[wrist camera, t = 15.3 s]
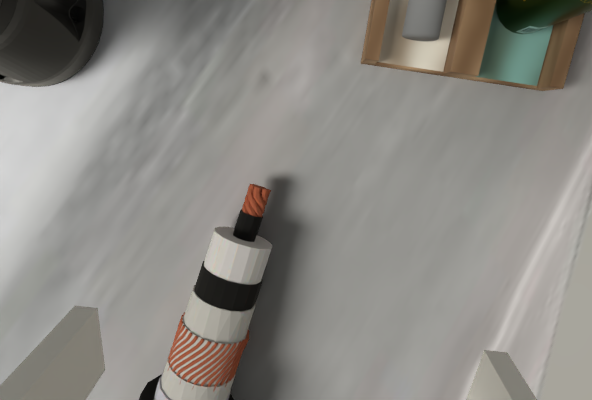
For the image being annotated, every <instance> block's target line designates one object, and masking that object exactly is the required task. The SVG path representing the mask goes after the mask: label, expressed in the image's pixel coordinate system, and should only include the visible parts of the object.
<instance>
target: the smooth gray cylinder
mask: <svg viewBox="0 0 592 400" xmlns="http://www.w3.org/2000/svg"><path fill="white" fill-rule="evenodd" d="M446 2H447V0H408V6H407V11H406V16H405V21H404V26H403V32H402V37H404V38H406V39H409V40H415V41H436V40H438V39H439V35H440V31H441V26H442V21H443V16H444V12H445V7H446Z"/></svg>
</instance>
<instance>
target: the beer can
mask: <svg viewBox="0 0 592 400" xmlns="http://www.w3.org/2000/svg"><path fill="white" fill-rule="evenodd" d="M591 10H592V0H496V15H497V18H498V21H499V22H500V23H501V24H502V26H503V27H504V28H506V29H508V30H509V31H511V32H513V33H517V34H528V33H533V32H536V31H538V30H541V29H544V28H546V27H549V26H552V25H554V24H557V23H559V22H562V21H565V20H567V19H570V18H573V17H575V16H578V15H581V14H583V13H586V12H589V11H591Z"/></svg>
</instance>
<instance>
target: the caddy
mask: <svg viewBox="0 0 592 400" xmlns="http://www.w3.org/2000/svg"><path fill="white" fill-rule="evenodd" d="M407 6H408V0H372V1H371V7H370V13H369V19H368V25H367V30H366V36H365V42H364V48H363V53H362V59H361V64H368V65H374V66H381V67H388V68H394V69H401V70H407V71H414V72H421V73H427V74H434V75H441V76H447V77H454V78H461V79H467V80H474V81H481V82H487V83H494V84H500V85H507V86H514V87H520V88H527V89H534V90H540V91H546V90H554V89H563V87H564V84H565V80H566V77H567V73H568V70H569V66H570V63H571V59H572V56H573V52H574V49H575V45H576V42H577V38H578V35H579V31H580V28H581V24H582V21H583V17H584V14H585V13H583V14H581V15H578V16H575V17H573V18H570V19H567V20H565V21H562V22H559V23H557V24H554V25H552V26H549V27H546V28H544V29H541V30H538V31H536V32H533V33H528V34H517V33H513V32H511V31H509V30H508V29H506V28H504V27H503V26H502V24H501V23H500V22H499V21H498V18H497V15H496V0H447V2H446V7H445V12H444V16H443V21H442V26H441V31H440V35H439V39H438V40H436V41H415V40H409V39H406V38H404V37H402V32H403V26H404V21H405V16H406V11H407Z"/></svg>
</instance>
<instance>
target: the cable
mask: <svg viewBox="0 0 592 400" xmlns="http://www.w3.org/2000/svg"><path fill="white" fill-rule="evenodd" d="M270 192H271V190H269V189H266V188H264V187H261V186H258V185H255V184H250V186H249V188H248V192H247V195H246V197H245V202H244V204H243V208H242V210H241V211H240V214H239V217H238V220H237V223H236V226H235V228H230V227H217V228H215V230H214V233H213V236H212V239H211V242H210V246H209V249H208V252H207V255H206V258H205V261H203V264H202V267H201V270H200V273H199V276H198V279H197V282H196V285H194V288H193V291H192V294H191V297H190V300H189V303H188V306H187V309H186V312H185V313H184V315H182V317H181V320H180V323H179V326H178V330H177V332H176V335H175V339H174V342H173V346H172V348H171V351H170V354H169V357H168V360H167V363H166V366H165V369H164V372H163V374H162V375H160V376H158V377H156V378H155V379H153V380H152V381H150V382H148V383H147V385H146V387H145V388H144V390H143V391H142V393H141V395H140V398H139V400H234V399H233V397H232V395H231V394H230V392H231V391H230V390H231V386H232V383H233V380H234V377H235V373H236V370H237V367H238V364H239V361H240V358H241V355H242V352H243V350H244V349H245V347H246V345H247V342H248V340H249V330H248V327H249V324H250V321H251V318H252V315H253V312H254V309H255V306H256V305H255V302H256V299H257V296H258V293H259V290H260V287H261V284H262V276H263V273H264V270H265V267H266V264H267V261H268V258H269V255H270V252H271V249H272V246H273V245H272V244H271V243H270V242H269V241H267V240H266V239H264V238H262V237H260V236H258V235H257V233H258V230H259V227H260V224H261V221H262V218H263V216H262V214H263V213H264V209H265V205H266V204H267V199H268V196H269V194H270Z"/></svg>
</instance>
